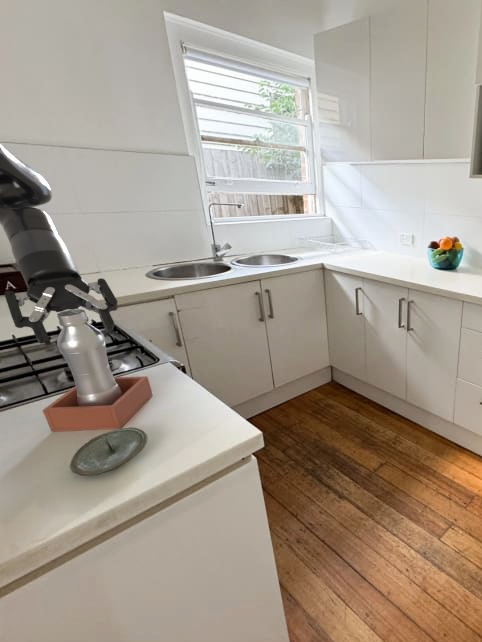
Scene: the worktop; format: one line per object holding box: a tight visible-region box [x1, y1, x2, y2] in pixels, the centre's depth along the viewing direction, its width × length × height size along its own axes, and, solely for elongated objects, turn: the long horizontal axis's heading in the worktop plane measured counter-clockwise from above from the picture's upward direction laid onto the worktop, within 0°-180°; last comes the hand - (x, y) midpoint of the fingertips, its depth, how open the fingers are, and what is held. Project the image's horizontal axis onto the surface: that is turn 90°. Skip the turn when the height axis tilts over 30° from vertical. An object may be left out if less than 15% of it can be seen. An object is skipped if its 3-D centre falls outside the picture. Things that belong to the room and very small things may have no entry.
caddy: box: [42, 375, 154, 432], centre depth 74 cm, size 12×12×5 cm
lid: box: [69, 427, 148, 477], centre depth 62 cm, size 11×10×5 cm
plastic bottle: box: [56, 308, 122, 407], centre depth 70 cm, size 6×7×20 cm
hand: (80, 336), depth 67 cm, fingers open, 8 cm apart
